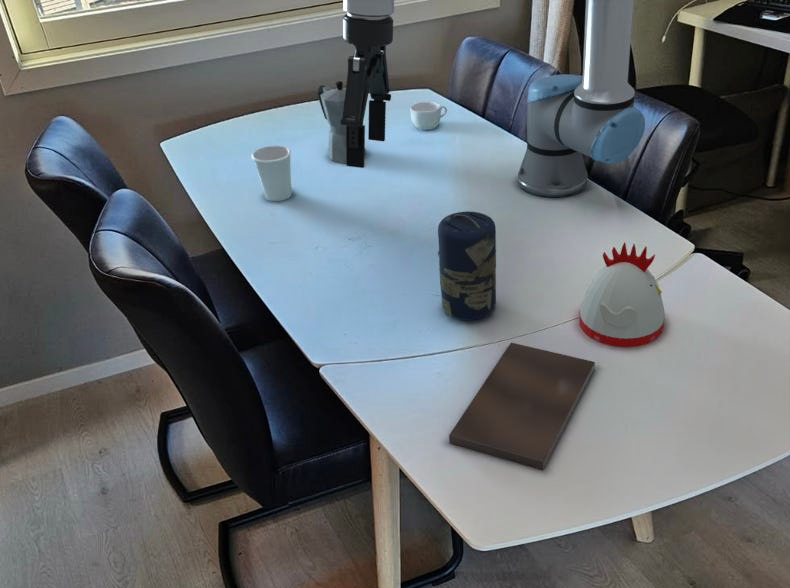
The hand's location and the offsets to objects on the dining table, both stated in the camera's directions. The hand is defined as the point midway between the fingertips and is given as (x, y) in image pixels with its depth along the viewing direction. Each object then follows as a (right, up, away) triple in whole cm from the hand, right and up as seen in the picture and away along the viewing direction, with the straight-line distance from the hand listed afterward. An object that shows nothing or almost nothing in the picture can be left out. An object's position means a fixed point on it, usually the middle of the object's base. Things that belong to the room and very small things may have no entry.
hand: (366, 152), depth 136 cm
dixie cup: (-24, +2, +49) cm, 55 cm away
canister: (+17, -25, +10) cm, 32 cm away
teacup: (+9, +25, +79) cm, 83 cm away
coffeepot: (-12, +15, +66) cm, 69 cm away
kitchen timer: (+42, -28, +5) cm, 51 cm away
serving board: (+25, -40, -12) cm, 49 cm away
